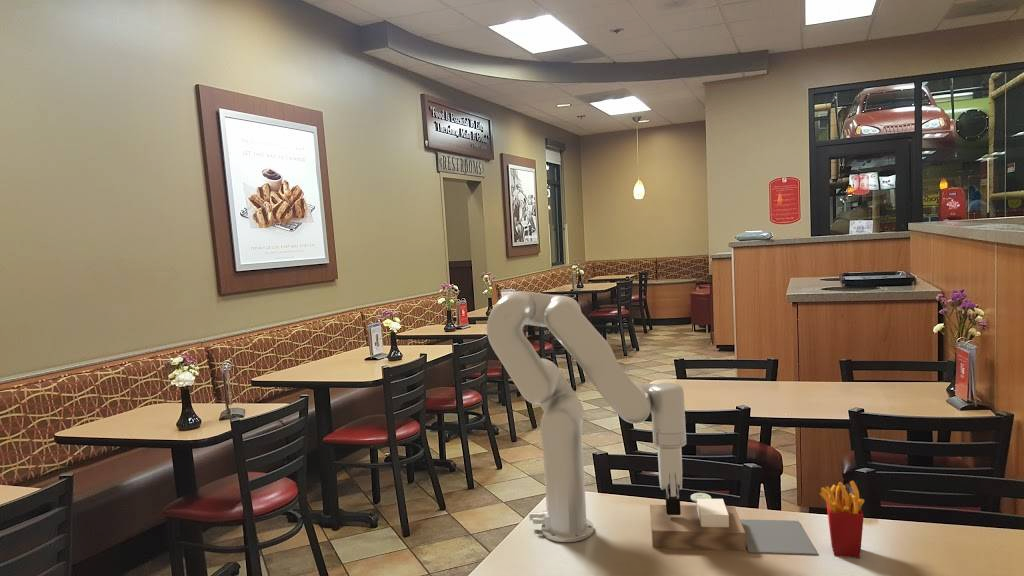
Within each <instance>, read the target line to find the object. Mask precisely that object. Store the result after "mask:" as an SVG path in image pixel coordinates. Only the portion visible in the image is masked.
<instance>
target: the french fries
mask: <svg viewBox="0 0 1024 576" xmlns="http://www.w3.org/2000/svg"><path fill="white" fill-rule="evenodd" d="M849 483H850V487H851V488H852V491H853V493H854V494H853V493H851V492H848V491H847V488H846V485H844V483H842V482H840V481H839V482H838V484H837V485H836V484H833V485H832V486H831V487H829V486H825V488H824V487H823V486H822V487H821V489H820V491H821V492H819V495H820V496H821V497H822V499H823V500H824V501H825V503H826V504H825V505H826V510H827V519H828V525H829V527H828V528H829V537H830V545H831V548H832V553H833V555H834V557H843V558H852V559H861V554H862V553H861V550H862V539H863V529H864V512H863V510H862V506H863V504H864V503H865V499H863V498H860V491H859V488H858V487H857V485H856V483H855V481H854V480H851V481H849ZM834 493H835V495H834ZM840 493H841V500H840Z"/></svg>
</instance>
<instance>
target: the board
mask: <svg viewBox="0 0 1024 576" xmlns="http://www.w3.org/2000/svg"><path fill="white" fill-rule="evenodd" d="M725 507H726V509H727V512H728V515H729V527H701V523H700V519H699V515H698V511H697V504H696V505H694V504H693V505H692V504H691V505H687V504H685V505H684V504H680V509H681V514H680V515H667V512H666V504H649V510H650V511H649V513H650V530H651V540H652V541H651V542H652V544H651V546H652V548H654V549H656V548H658V549H683V550H685V549H686V550H687V549H688V550H692V549H693V550H715V551H716V550H718V551H720V550H721V551H746V549H747V546H746V544H745V531H744V529H743V526H742V524H741V521H740V519H741V518H740V517H739V513H738V511H737V509H736V506H735V505H725Z"/></svg>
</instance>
